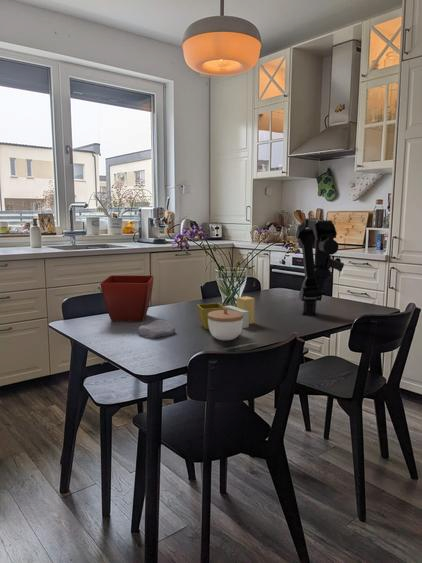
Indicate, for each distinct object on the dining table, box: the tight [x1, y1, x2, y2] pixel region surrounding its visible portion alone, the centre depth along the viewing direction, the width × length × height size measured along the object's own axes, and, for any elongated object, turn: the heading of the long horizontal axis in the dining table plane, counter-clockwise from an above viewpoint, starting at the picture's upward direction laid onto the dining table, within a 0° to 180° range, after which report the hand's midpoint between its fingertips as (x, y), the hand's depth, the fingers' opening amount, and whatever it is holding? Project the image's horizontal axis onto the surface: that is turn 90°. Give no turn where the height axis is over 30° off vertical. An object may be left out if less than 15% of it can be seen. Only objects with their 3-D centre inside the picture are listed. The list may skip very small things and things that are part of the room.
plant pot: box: [100, 274, 154, 323], centre depth 184 cm, size 19×19×17 cm
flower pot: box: [196, 302, 225, 330], centre depth 169 cm, size 9×9×9 cm
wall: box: [224, 305, 250, 329], centre depth 172 cm, size 3×12×6 cm, turn 32°
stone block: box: [137, 319, 176, 339], centre depth 163 cm, size 12×5×10 cm
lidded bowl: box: [208, 308, 243, 341], centre depth 156 cm, size 13×13×11 cm
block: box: [236, 296, 255, 325], centre depth 173 cm, size 8×5×10 cm, turn 122°
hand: (320, 290), depth 177 cm, fingers closed
